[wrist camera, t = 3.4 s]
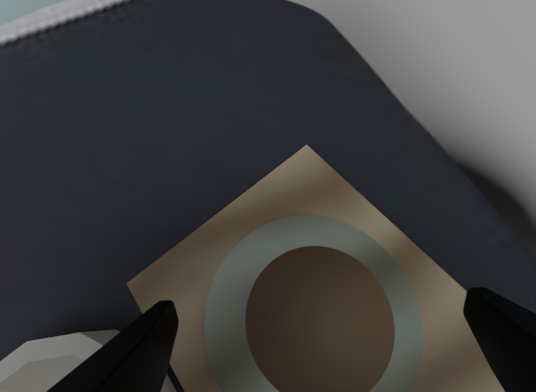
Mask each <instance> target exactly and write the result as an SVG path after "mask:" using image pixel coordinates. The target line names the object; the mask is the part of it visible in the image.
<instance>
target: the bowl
mask: <svg viewBox="0 0 536 392" xmlns="http://www.w3.org/2000/svg"><path fill="white" fill-rule="evenodd" d="M118 333H120V331H118V330H105V331H92V332H80V333H73V334H68V335H62V336H56V337H50V338H45V339H39V340H33V341H27V342H25V343H24V344H23V345H21V346H20V347H19V348H17V349H16V350H15V351H13V352H12V353H11V354H10V355H8V356H7V357H6V358H4V359H3V360H2V361H0V392H47V390H49V389H50V388H51V387H52V386H54V385H55V384H56V383H57V382H59V381H60V380H61V379H62V378H64V377H65V376H66V375H67V374H69V373H70V372H71V371H72V370H74V369H75V368H76V367H77V366H78V365H80V364H81V363H82V362H83V361H85V360H86V359H87V358H88V357H90V356H91V355H92V354H93V353H95V352H96V351H97V350H98V349H100V348H101V347H102V346H103V345H105V344H106V343H107V342H108V341H110V340H111V339H112V338H113V337H115V336H116V335H117V334H118ZM161 392H177V391H176V389H175V387H174V385H173V383H172V382H171V380H170V378H169V376H168V374H166V377H165V380H164V383H163V386H162V389H161Z"/></svg>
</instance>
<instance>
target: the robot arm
mask: <svg viewBox="0 0 536 392" xmlns="http://www.w3.org/2000/svg"><path fill="white" fill-rule="evenodd" d="M463 314H464V317H465V319H466V321H467V323H468V325H469V327H470V329H471V331H472V333H473V335H474V337H475V339H476V341H477V343H478V345H479V347H480V349H481V351H482V353H483V354H484V356H485V358H486V360H487V362H488V364H489V366H490V368H491V370H492V371H493V373H494V375H495V376H496V378H497V380H498V381H499V383H500V384H501V386H502V388H503V389H504V391H505V392H536V314H535V313H533V312H532V311H530V310H528V309H526V308H524V307H522V306H520V305H518V304H516V303H514V302H512V301H510V300H508V299H506V298H504V297H502V296H500V295H499V294H497V293H495V292H493V291H491V290H489V289H487V288H483V287H478V288H469V289H468V290H467V293H466V298H465V302H464V307H463ZM178 326H179V319H178V315H177V312H176V308H175V305H174V302H173V301H172V300H161V301H158V302H157V303H156V304H154V305H153V306H152V307H151V308H149V309H148V310H147V311H146V312H145V313H143V314H142V315H141V316H140V317H138V318H137V319H136V320H135V321H133V322H132V323H131V324H130V325H128V326H127V327H126V328H125V329H123V330H122V331H121V332H120V333H118V334H117V335H116V336H115V337H113V338H112V339H111V340H110V341H108V342H107V343H106V344H105V345H103V346H102V347H101V348H100V349H98V350H97V351H96V352H95V353H93V354H92V355H91V356H90V357H88V358H87V359H86V360H85V361H83V362H82V363H81V364H80V365H78V366H77V367H76V368H75V369H74V370H72V371H71V372H70V373H69V374H67V375H66V376H65V377H64V378H62V379H61V380H60V381H59V382H57V383H56V384H55V385H54V386H52V387H51V388H50V389H49V390H47V392H161V389H162V386H163V383H164V380H165V377H166V374H167V370H168V367H169V363H170V359H171V355H172V351H173V347H174V343H175V339H176V335H177V331H178Z"/></svg>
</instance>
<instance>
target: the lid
mask: <svg viewBox="0 0 536 392" xmlns="http://www.w3.org/2000/svg"><path fill="white" fill-rule="evenodd" d="M204 335H205V343H206V351H207V355H208V359H209V363H210V367H211V369H212V372H213V375H214V377H215V380H216V382H217V384H218V386H219V388H220V390H221V392H413V389H414V387H415V384H416V382H417V379H418V375H419V371H420V366H421V362H422V351H423V332H422V323H421V317H420V312H419V309H418V305H417V302H416V298H415V296H414V293H413V291H412V289H411V286H410V284H409V282H408V280H407V278H406V277H405V275H404V273H403V271H402V270H401V268H400V267H399V266H398V264H397V263H396V261H395V260H394V259H393V257H392V256H391V255H390V254H389V253H388V252H387V251H386V250H385V249H384V248H383V247H382V246H381V245H380V244H379V243H378V242H376V241H375V240H374V239H373V238H372V237H370V236H369V235H367V234H366V233H364V232H363V231H361V230H359V229H357V228H355V227H353V226H351V225H350V224H347V223H344V222H342V221H339V220H336V219H332V218H328V217H323V216H314V215H299V216H291V217H286V218H282V219H278V220H275V221H272V222H270V223H267V224H265V225H263V226H261V227H259V228H258V229H256V230H254V231H253V232H251V233H250V234H248V235H247V236H246V237H244V238H243V239H242V240H241V241H240V242H239V243H238V244H237V245H236V246H235V247H234V248H233V249H232V250H231V252H230V253H229V254H228V255H227V256H226V258H225V260H224V261H223V263H222V264H221V266H220V267H219V269H218V271H217V273H216V275H215V277H214V280H213V283H212V285H211V288H210V291H209V295H208V299H207V303H206V310H205V319H204Z"/></svg>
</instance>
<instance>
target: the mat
mask: <svg viewBox="0 0 536 392" xmlns="http://www.w3.org/2000/svg"><path fill="white" fill-rule="evenodd" d="M299 215H314V216H323V217H328V218H332V219H336V220H339V221H342V222H344V223H347V224H350V225H351V226H353V227H355V228H357V229H359V230H361V231H363V232H364V233H366V234H367V235H369V236H370V237H372V238H373V239H374V240H375V241H376V242H378V243H379V244H380V245H381V246H382V247H383V248H384V249H385V250H386V251H387V252H388V253H389V254H390V255H391V256H392V257H393V259H394V260H395V261H396V263H397V264H398V266H399V267H400V268H401V270H402V271H403V273H404V275H405V277H406V278H407V280H408V282H409V284H410V286H411V289H412V291H413V293H414V296H415V298H416V302H417V305H418V309H419V312H420V317H421V323H422V332H423V351H422V362H421V366H420V371H419V375H418V379H417V382H416V384H415V387H414V389H413V392H505V391H504V389H503V388H502V386H501V384H500V383H499V381H498V380H497V378H496V376H495V375H494V373H493V371H492V370H491V368H490V366H489V364H488V362H487V360H486V358H485V356H484V354H483V353H482V351H481V349H480V347H479V345H478V343H477V341H476V339H475V337H474V335H473V333H472V331H471V329H470V327H469V325H468V323H467V321H466V319H465V317H464V314H463V307H464V302H465V298H466V293H467V291H465V290H464V289H463V288H462V287H461V286H460V285H459V284H458V283H457V282H456V281H455V280H453V279H452V278H451V277H450V276H449V275H448V274H447V273H446V272H445V271H444V270H443V269H441V268H440V267H439V266H438V265H437V264H436V263H435V262H434V261H433V260H432V259H431V258H429V257H428V256H427V255H426V254H425V253H424V252H423V251H422V250H421V249H420V248H419V247H418V246H416V245H415V244H414V243H413V242H412V241H411V240H410V239H409V238H408V237H407V236H406V235H404V234H403V233H402V232H401V231H400V230H399V229H398V228H397V227H396V226H395V225H394V224H392V223H391V222H390V221H389V220H388V219H387V218H386V217H385V216H384V215H383V214H382V213H380V212H379V211H378V210H377V209H376V208H375V207H374V206H373V205H372V204H371V203H370V202H368V201H367V200H366V199H365V198H364V197H363V196H362V195H361V194H360V193H359V192H358V191H357V190H355V189H354V188H353V187H352V186H351V185H350V184H349V183H348V182H347V181H346V180H345V179H343V178H342V177H341V176H340V175H339V174H338V173H337V172H336V171H335V170H334V169H333V168H331V167H330V166H329V165H328V164H327V163H326V162H325V161H324V160H323V159H322V158H321V157H319V156H318V155H317V154H316V153H315V152H314V151H313V150H312V149H311V148H310V147H309V146H308V145H306V146H304V147H303V148H302V149H300V150H299V151H298V152H297V153H295V154H294V155H293V156H291V157H290V158H289V159H287V160H286V161H285V162H284V163H282V164H281V165H280V166H278V167H277V168H276V169H274V170H273V171H272V172H271V173H269V174H268V175H267V176H265V177H264V178H263V179H261V180H260V181H259V182H258V183H256V184H255V185H254V186H252V187H251V188H250V189H248V190H247V191H246V192H245V193H243V194H242V195H241V196H239V197H238V198H237V199H236V200H234V201H233V202H232V203H230V204H229V205H228V206H226V207H225V208H224V209H223V210H221V211H220V212H219V213H217V214H216V215H215V216H213V217H212V218H211V219H210V220H208V221H207V222H206V223H204V224H203V225H202V226H200V227H199V228H198V229H197V230H195V231H194V232H193V233H191V234H190V235H189V236H187V237H186V238H185V239H184V240H182V241H181V242H180V243H178V244H177V245H176V246H175V247H173V248H172V249H171V250H169V251H168V252H167V253H165V254H164V255H163V256H162V257H160V258H159V259H158V260H156V261H155V262H154V263H152V264H151V265H150V266H149V267H147V268H146V269H145V270H143V271H142V272H141V273H139V274H138V275H137V276H136V277H134V278H133V279H132V280H130V281H129V282H128V283H127V286H128V288H129V289H130V291H131V293H132V295H133V297H134V299H135V300H136V302H137V304H138V306H139V308H140V310H141V312H142V313H145V312H146V311H147V310H148V309H149V308H151V307H152V306H153V305H154V304H156V303H157V302H158V301H161V300H172V301H173V302H174V305H175V308H176V312H177V315H178V319H179V326H178V331H177V335H176V339H175V343H174V347H173V351H172V355H171V359H170V365H171V367H172V369H173V371H174V373H175V375H176V376H177V378H178V380H179V382H180V384H181V386H182V387H183V389H184V391H185V392H221V390H220V388H219V386H218V384H217V382H216V380H215V377H214V375H213V372H212V369H211V367H210V363H209V359H208V355H207V351H206V343H205V335H204V319H205V310H206V303H207V299H208V295H209V291H210V288H211V285H212V283H213V280H214V277H215V275H216V273H217V271H218V269H219V267H220V266H221V264H222V263H223V261H224V260H225V258H226V256H227V255H228V254H229V253H230V252H231V250H232V249H233V248H234V247H235V246H236V245H237V244H238V243H239V242H240V241H241V240H242V239H243V238H244V237H246V236H247V235H248V234H250V233H251V232H253V231H254V230H256V229H258V228H259V227H261V226H263V225H265V224H267V223H270V222H272V221H275V220H278V219H282V218H286V217H291V216H299Z"/></svg>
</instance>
